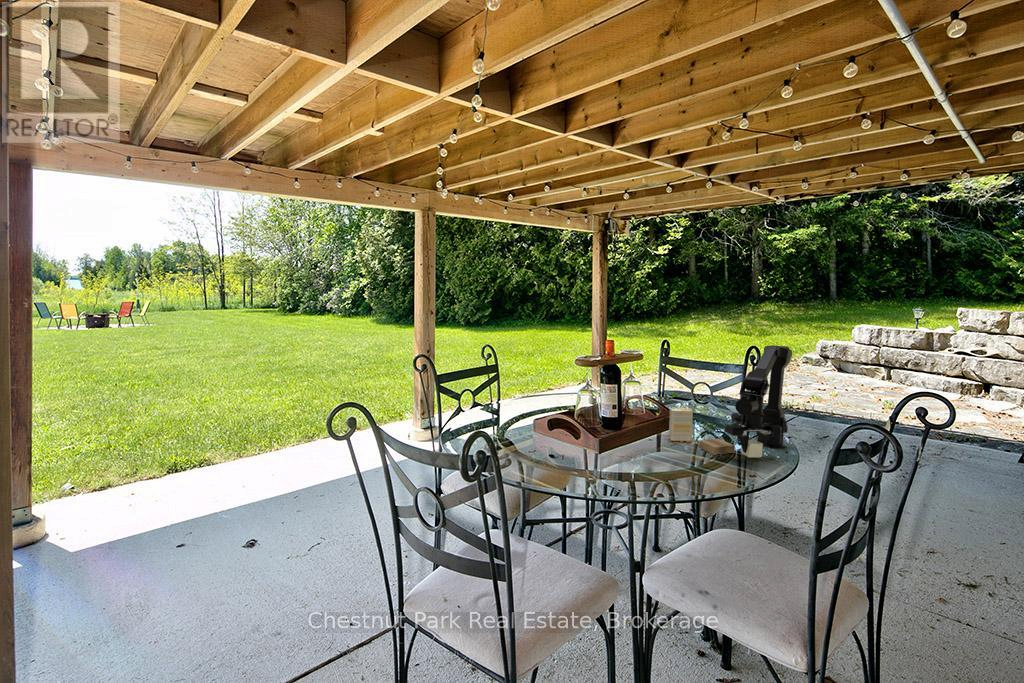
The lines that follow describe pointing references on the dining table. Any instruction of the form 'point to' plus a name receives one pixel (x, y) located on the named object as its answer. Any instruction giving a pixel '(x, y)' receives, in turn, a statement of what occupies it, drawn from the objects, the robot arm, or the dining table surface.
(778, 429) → the robot arm
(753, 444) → the cube
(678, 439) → the supplement box
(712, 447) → the walnut block
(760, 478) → the dining table surface
